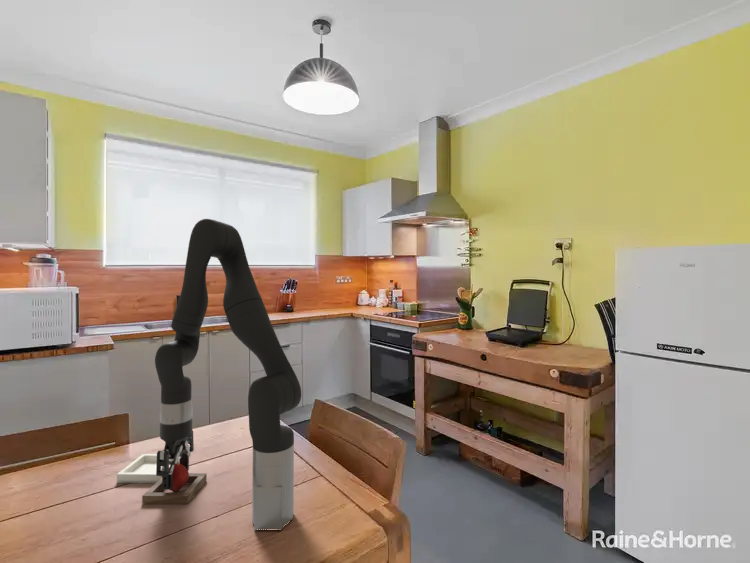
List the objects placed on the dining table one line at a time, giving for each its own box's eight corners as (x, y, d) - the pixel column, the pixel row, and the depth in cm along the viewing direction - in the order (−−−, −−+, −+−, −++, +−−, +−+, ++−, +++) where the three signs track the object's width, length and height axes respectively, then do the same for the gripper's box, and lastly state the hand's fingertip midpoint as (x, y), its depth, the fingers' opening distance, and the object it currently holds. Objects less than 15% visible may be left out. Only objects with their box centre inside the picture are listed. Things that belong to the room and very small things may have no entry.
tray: (161, 483, 105) (161, 474, 105) (116, 483, 105) (116, 474, 105) (183, 462, 117) (183, 454, 117) (143, 461, 117) (143, 453, 117)
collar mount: (187, 504, 95) (187, 496, 95) (142, 503, 95) (142, 495, 95) (206, 480, 106) (206, 473, 106) (166, 480, 106) (166, 473, 106)
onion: (158, 494, 100) (158, 463, 100) (178, 483, 105) (179, 454, 105) (173, 500, 97) (173, 468, 97) (193, 489, 102) (193, 458, 102)
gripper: (176, 428, 94) (176, 495, 94) (203, 408, 108) (202, 466, 108) (145, 428, 94) (145, 495, 94) (175, 408, 108) (175, 466, 108)
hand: (176, 479), depth 101 cm, fingers open, 8 cm apart
